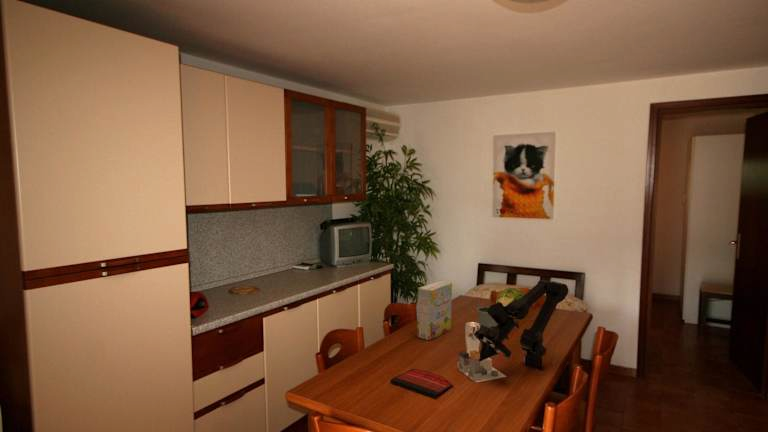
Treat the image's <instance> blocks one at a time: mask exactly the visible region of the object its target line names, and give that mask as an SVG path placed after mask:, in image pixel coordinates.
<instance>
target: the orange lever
mask: <svg viewBox="0 0 768 432" xmlns="http://www.w3.org/2000/svg"><path fill="white" fill-rule="evenodd" d="M470 356H471V357H470V364H469V365H470V373H471V374H472V375H473V376H474V374H477V373H479V365H480V361H479V358H480V351H479V352H477V351H476V350H473V351H470Z"/></svg>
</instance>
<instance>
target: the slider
mask: <svg viewBox="0 0 768 432" xmlns="http://www.w3.org/2000/svg"><path fill="white" fill-rule="evenodd" d="M479 365H480V366H481V367H483V368H484V369H486V370H489V369H492V367H493V359H492V358H491V357H489V358H487V359H485V360H483V361H479Z"/></svg>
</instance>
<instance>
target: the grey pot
mask: <svg viewBox="0 0 768 432" xmlns="http://www.w3.org/2000/svg"><path fill="white" fill-rule="evenodd" d="M489 307H490V306H480V307H479V306H478V307H477V316H478V318H477V319H478V320H477V321H478V322H477V323H479V324H480V325H481V324H482V325H484V326H487V327H489V328H490V327H492V326H495V327H496V326H497V323H496V322H495V321H494V320H493V319H492V318H491V317H490V315H489V314H488V312H487V311H488V308H489Z"/></svg>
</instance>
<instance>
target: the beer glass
mask: <svg viewBox="0 0 768 432" xmlns="http://www.w3.org/2000/svg"><path fill="white" fill-rule="evenodd" d="M479 328H480V324H479V323H478V322H476V321H468V322H465V325H464V337H465V345H466V352H467V353H469V358H471V356H470V351H473V350H476V351H477V352H479V353H480V351H479V349H480V344H481V342H480V341H479V340H478V339H477V338H476V337H475V336H474V335H473V334H474V333H475V332H476V331H478V330H479Z"/></svg>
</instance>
